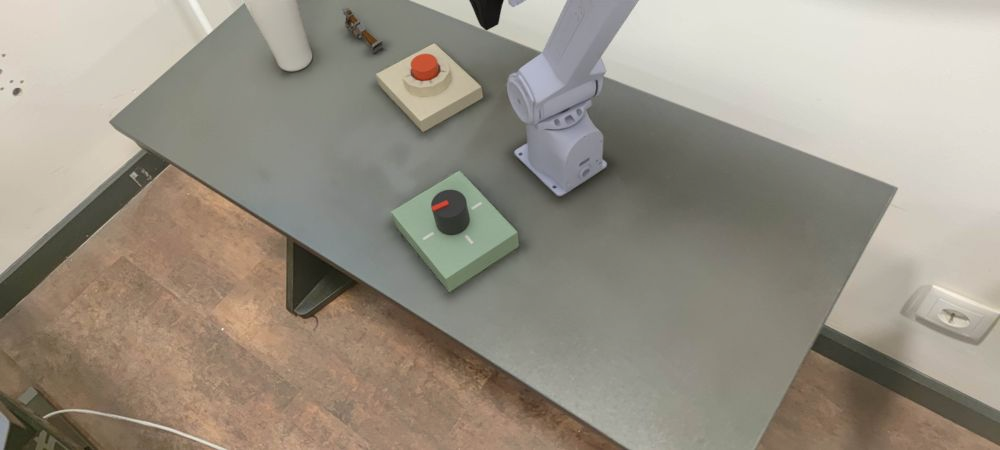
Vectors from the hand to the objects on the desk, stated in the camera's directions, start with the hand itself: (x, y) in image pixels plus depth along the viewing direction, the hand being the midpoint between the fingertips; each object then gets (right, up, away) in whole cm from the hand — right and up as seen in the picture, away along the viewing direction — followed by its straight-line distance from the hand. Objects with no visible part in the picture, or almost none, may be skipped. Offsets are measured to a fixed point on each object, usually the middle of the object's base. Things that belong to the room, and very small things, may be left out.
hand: (489, 24), depth 90 cm
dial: (-4, -25, -9) cm, 27 cm away
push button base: (-9, -7, +9) cm, 14 cm away
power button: (-9, -5, +6) cm, 12 cm away
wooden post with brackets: (-20, +2, +16) cm, 26 cm away
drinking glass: (-29, -1, +15) cm, 33 cm away
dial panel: (-4, -27, -6) cm, 28 cm away
